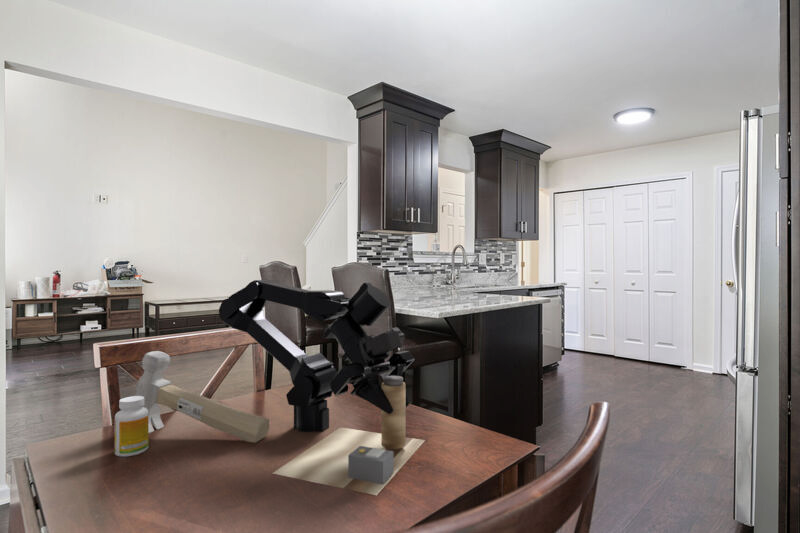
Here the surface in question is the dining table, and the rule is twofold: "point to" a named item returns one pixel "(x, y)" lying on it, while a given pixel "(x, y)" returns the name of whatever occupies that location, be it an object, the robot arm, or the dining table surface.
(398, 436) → the marker peg
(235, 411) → the hammer
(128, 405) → the supplement bottle
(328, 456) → the plywood panel
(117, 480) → the dining table surface
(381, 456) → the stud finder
